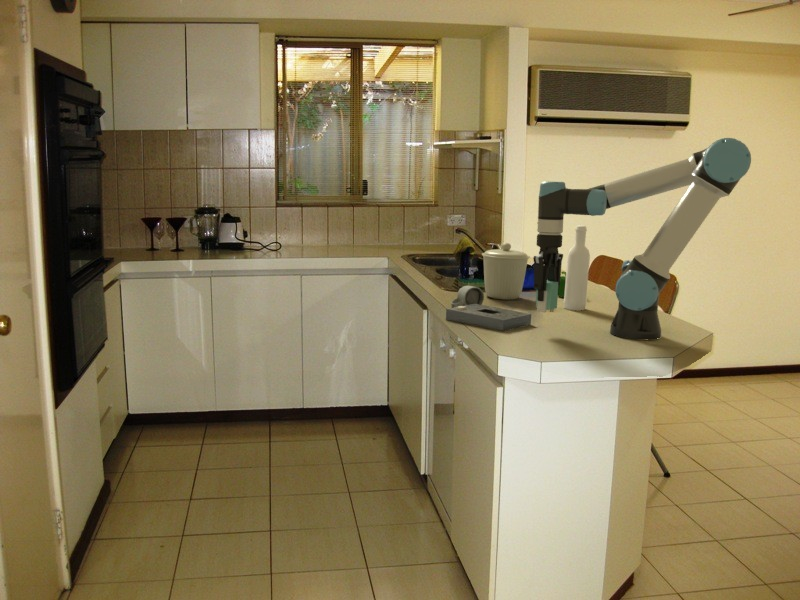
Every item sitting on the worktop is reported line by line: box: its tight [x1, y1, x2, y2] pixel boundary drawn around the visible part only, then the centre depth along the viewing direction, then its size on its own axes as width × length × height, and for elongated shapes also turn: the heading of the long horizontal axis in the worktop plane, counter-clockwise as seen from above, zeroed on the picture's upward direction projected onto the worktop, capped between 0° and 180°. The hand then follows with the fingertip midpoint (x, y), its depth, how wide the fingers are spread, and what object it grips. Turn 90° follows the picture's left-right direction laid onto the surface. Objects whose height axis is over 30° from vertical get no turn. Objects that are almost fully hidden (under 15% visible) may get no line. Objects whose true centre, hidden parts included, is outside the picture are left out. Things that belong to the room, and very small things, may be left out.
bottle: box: [562, 224, 591, 312], centre depth 282 cm, size 8×8×30 cm
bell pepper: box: [558, 270, 566, 299], centre depth 308 cm, size 8×8×10 cm
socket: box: [445, 304, 532, 332], centre depth 253 cm, size 22×16×4 cm
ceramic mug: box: [450, 285, 485, 308], centre depth 278 cm, size 11×8×8 cm
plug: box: [535, 280, 559, 313], centre depth 238 cm, size 5×4×9 cm
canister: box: [481, 242, 530, 301], centre depth 299 cm, size 18×18×21 cm
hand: (545, 310), depth 239 cm, fingers closed on plug, 4 cm apart
